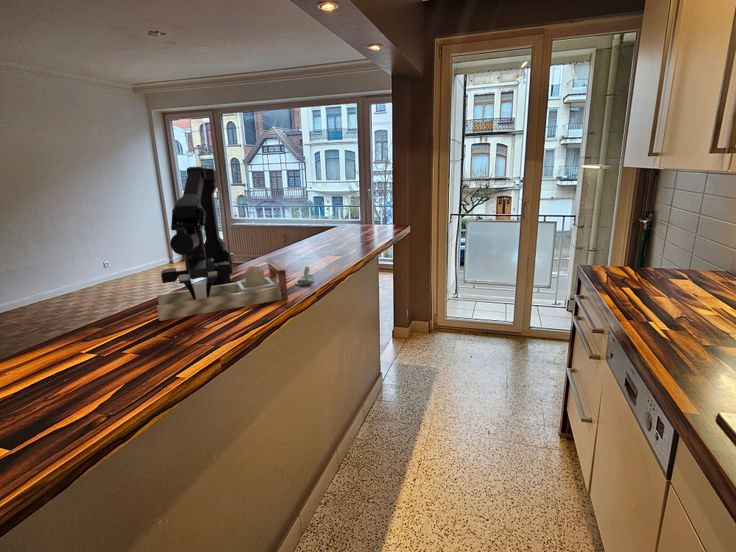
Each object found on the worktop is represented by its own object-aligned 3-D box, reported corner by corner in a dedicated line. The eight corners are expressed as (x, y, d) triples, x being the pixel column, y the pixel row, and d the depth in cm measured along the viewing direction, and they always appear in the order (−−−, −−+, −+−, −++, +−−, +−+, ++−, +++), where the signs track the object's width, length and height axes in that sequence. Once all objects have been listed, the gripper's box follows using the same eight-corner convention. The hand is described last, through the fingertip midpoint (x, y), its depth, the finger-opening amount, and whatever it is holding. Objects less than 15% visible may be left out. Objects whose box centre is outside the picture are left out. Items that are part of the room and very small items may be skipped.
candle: (268, 294, 130) (265, 264, 127) (262, 300, 124) (259, 268, 122) (251, 294, 130) (248, 264, 128) (245, 300, 125) (241, 268, 122)
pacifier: (292, 287, 138) (309, 286, 138) (290, 269, 137) (307, 268, 136) (298, 281, 145) (315, 280, 145) (296, 264, 144) (313, 263, 143)
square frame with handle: (198, 311, 116) (194, 288, 114) (195, 302, 124) (192, 280, 122) (276, 298, 125) (274, 276, 123) (269, 290, 134) (267, 269, 132)
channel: (159, 321, 110) (153, 289, 108) (159, 307, 122) (154, 278, 119) (287, 298, 125) (285, 270, 123) (277, 288, 137) (274, 262, 134)
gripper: (157, 257, 105) (167, 313, 109) (231, 248, 113) (238, 301, 117) (157, 250, 115) (166, 302, 119) (226, 242, 123) (232, 292, 127)
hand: (201, 300), depth 120 cm, fingers closed on square frame with handle, 3 cm apart
